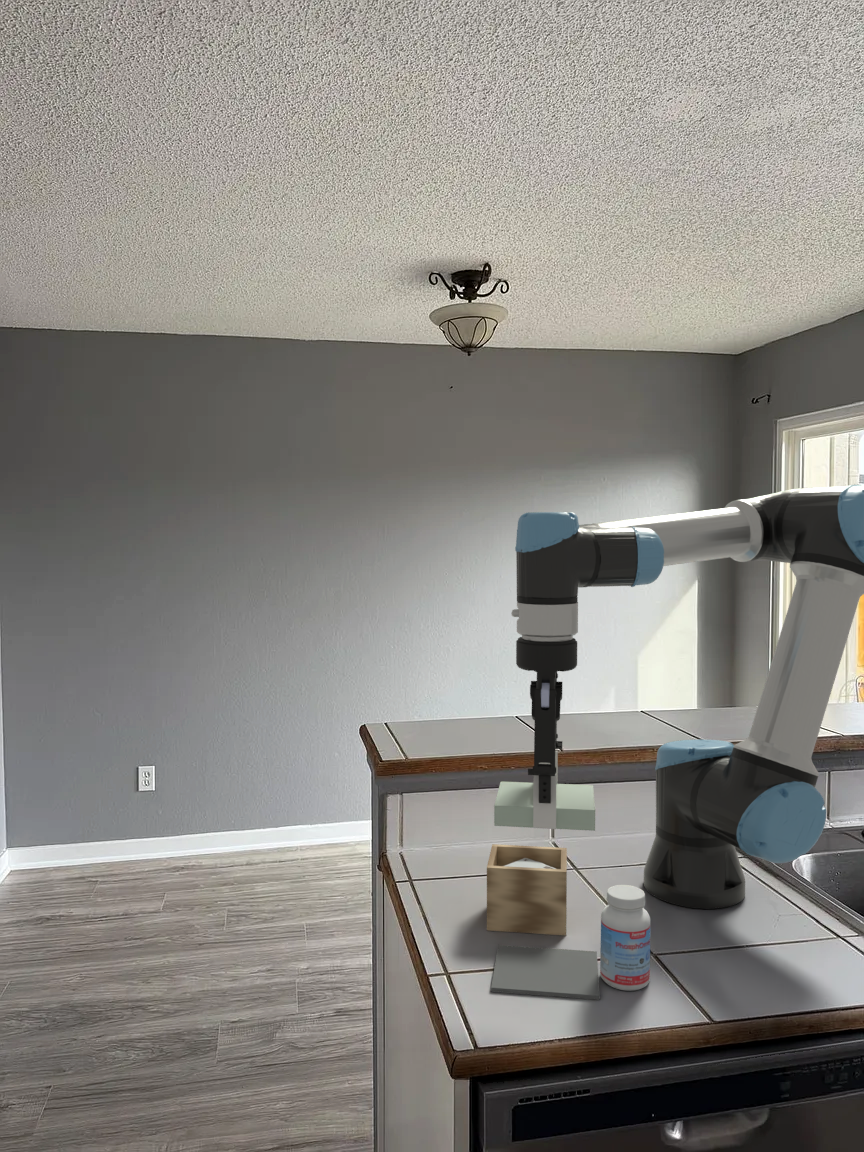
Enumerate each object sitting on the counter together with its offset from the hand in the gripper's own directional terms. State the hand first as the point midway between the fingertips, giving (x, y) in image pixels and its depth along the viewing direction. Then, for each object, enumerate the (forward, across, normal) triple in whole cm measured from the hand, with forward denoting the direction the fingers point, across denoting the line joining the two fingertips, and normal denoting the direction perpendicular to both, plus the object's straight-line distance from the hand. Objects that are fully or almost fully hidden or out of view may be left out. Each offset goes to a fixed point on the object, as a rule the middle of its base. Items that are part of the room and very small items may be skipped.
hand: (545, 812), depth 111 cm
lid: (0, 0, 0) cm, 0 cm away
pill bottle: (+21, 0, +10) cm, 23 cm away
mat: (+21, 0, 0) cm, 21 cm away
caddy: (+21, -15, -3) cm, 26 cm away
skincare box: (+21, -15, -3) cm, 26 cm away
